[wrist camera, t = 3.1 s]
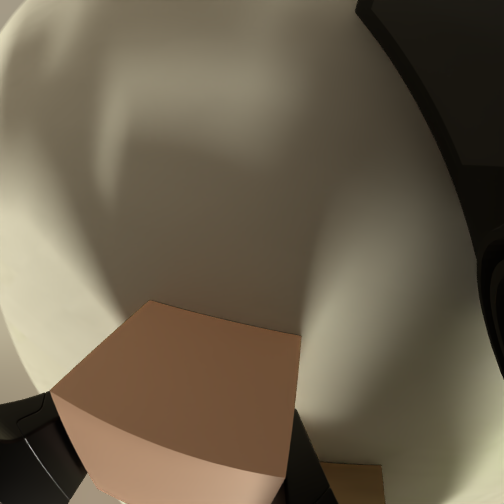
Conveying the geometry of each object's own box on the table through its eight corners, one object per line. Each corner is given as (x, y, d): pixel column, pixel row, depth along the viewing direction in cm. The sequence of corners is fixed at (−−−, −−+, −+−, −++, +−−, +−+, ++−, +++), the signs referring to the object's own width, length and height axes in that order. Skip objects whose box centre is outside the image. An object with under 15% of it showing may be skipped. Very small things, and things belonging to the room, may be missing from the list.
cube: (271, 434, 10) (247, 541, 5) (154, 402, 11) (97, 488, 6) (301, 336, 9) (285, 477, 4) (149, 300, 9) (49, 390, 5)
